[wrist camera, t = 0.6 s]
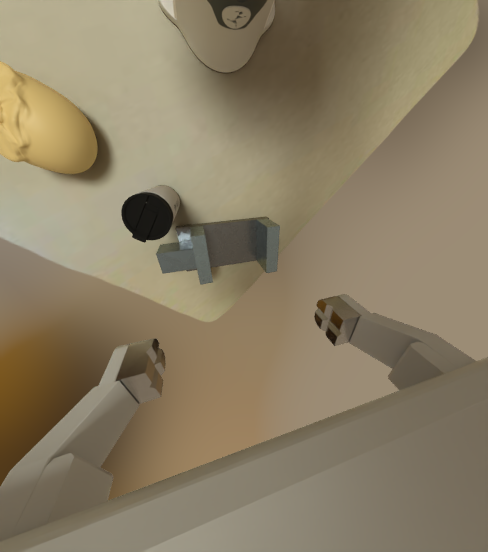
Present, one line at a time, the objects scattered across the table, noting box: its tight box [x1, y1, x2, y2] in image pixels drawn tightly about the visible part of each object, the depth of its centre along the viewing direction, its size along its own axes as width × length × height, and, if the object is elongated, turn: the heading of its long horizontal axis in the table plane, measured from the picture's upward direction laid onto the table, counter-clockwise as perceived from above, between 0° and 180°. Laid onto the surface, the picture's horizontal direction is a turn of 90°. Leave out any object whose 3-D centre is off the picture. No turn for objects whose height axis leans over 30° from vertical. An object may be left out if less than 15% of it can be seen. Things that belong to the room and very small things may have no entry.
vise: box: [176, 217, 280, 273], centre depth 45 cm, size 24×12×10 cm, turn 93°
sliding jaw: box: [156, 226, 213, 284], centre depth 42 cm, size 11×12×8 cm
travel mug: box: [122, 185, 180, 242], centre depth 32 cm, size 6×7×20 cm
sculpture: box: [0, 61, 97, 174], centre depth 27 cm, size 12×12×11 cm
